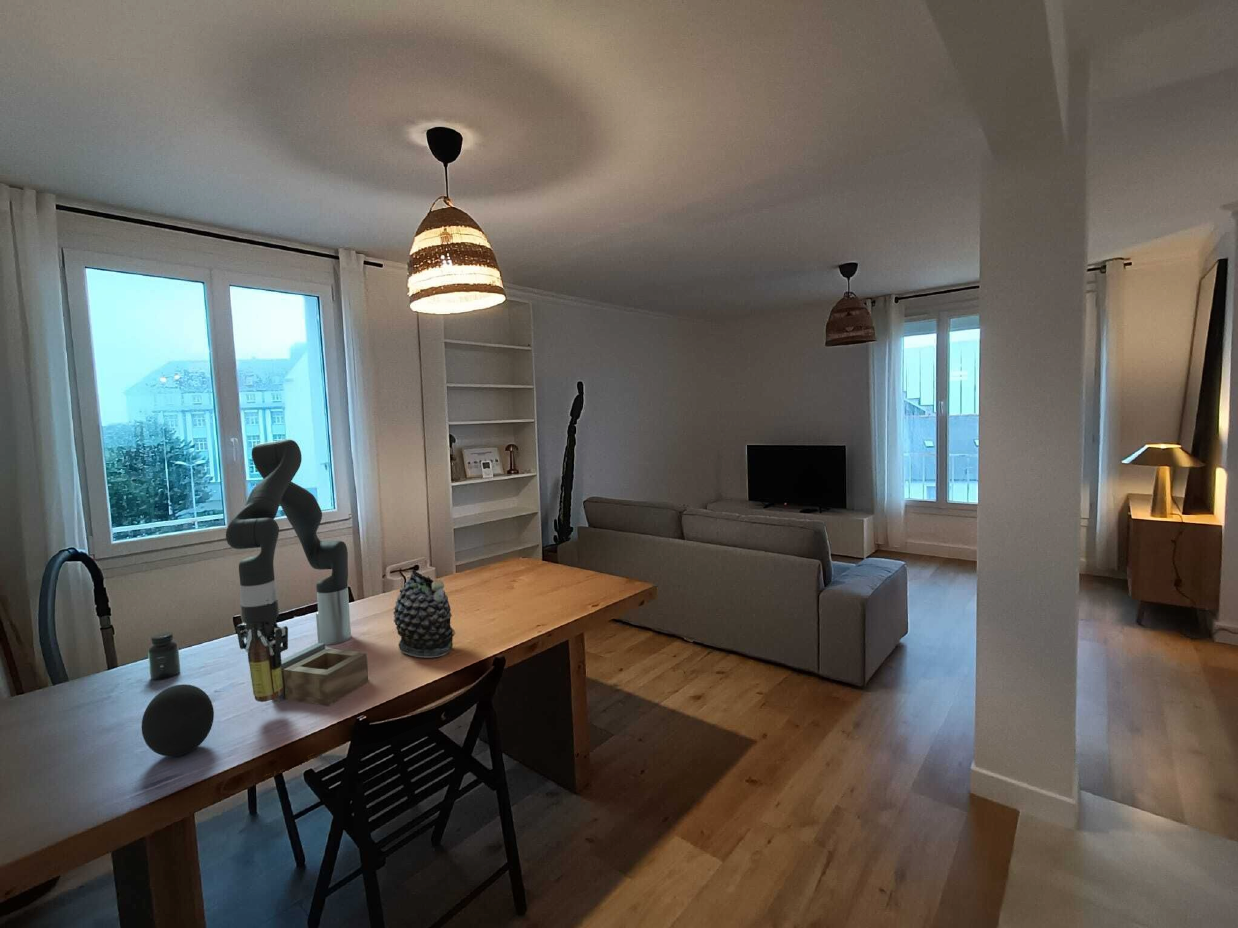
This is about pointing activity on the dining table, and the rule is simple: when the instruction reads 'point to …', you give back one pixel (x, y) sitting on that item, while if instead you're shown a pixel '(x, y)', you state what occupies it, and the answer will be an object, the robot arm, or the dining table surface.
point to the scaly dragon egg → (423, 618)
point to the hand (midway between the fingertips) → (265, 666)
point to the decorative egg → (177, 720)
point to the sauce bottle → (263, 669)
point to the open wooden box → (326, 676)
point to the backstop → (297, 658)
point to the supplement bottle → (163, 657)
